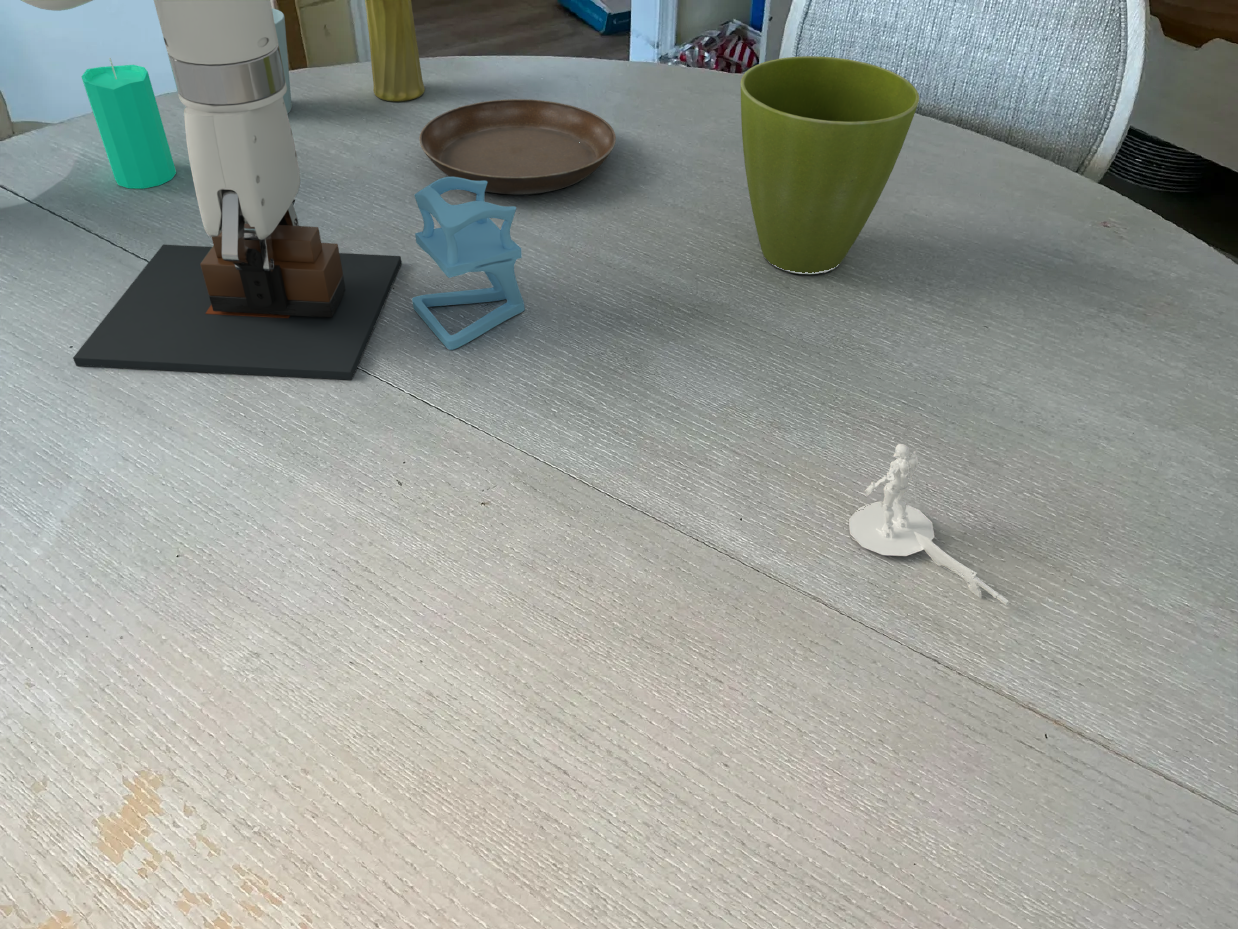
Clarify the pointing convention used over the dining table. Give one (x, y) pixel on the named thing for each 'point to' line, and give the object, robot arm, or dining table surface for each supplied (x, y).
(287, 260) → the brush
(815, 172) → the flower pot
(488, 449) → the dining table surface
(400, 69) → the vase
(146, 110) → the candle
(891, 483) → the figurine
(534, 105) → the plant saucer
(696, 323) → the dining table surface
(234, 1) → the robot arm
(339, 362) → the mat
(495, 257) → the chair
